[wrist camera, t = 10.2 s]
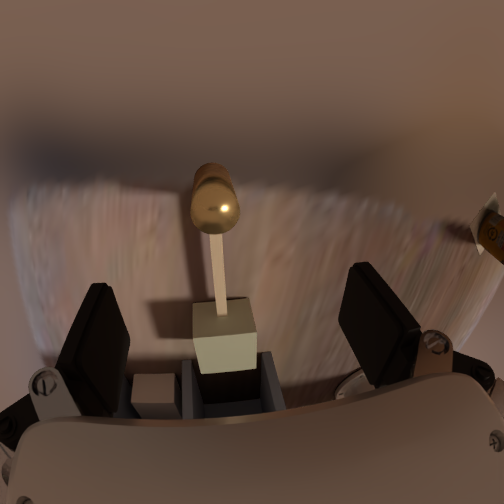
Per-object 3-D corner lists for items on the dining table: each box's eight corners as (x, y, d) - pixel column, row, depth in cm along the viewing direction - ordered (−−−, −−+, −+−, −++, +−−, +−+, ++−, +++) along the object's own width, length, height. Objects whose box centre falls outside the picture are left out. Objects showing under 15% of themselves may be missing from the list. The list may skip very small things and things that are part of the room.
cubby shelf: (270, 351, 36) (297, 448, 24) (266, 400, 43) (284, 475, 31) (109, 361, 33) (94, 454, 21) (138, 408, 40) (135, 482, 28)
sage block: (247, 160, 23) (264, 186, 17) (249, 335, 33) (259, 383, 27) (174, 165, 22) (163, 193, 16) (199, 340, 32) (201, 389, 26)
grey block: (174, 372, 36) (174, 402, 31) (182, 393, 39) (182, 421, 35) (134, 373, 35) (130, 402, 31) (145, 394, 38) (143, 420, 34)
